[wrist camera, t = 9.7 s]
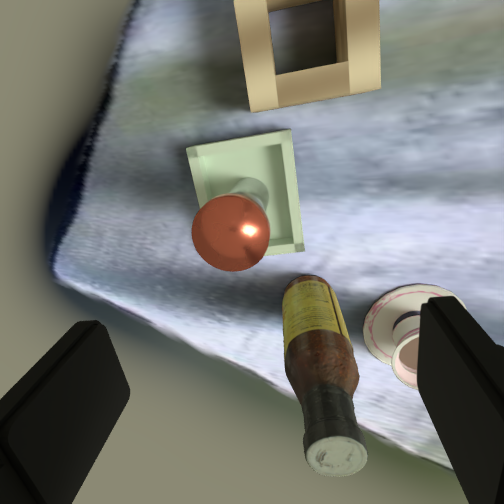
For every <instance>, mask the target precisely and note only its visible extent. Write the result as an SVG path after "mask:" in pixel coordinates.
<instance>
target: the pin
mask: <svg viewBox="0 0 504 504" xmlns="http://www.w3.org/2000/svg"><path fill="white" fill-rule="evenodd" d="M268 202H269V191H268V189H267V187H266V185H265V184H264V183H263V182H262V181H260V180H258V179H256V178H244V179H242V180H240V181H238V182H237V183H236V184H235V186H234V187H233V188H232V189H231V190H230V192H229V193H226V194H221V195H218V196H216V197H214V198H212V199H210V200H209V201H208V202H207V203H206V204H205V205H204V206H203V207H202V208H201V209H200V210H199V211H198V213H197V214H196V216H195V218H194V221H193V224H192V240H193V243H194V246H195V248H196V250H197V252H198V253H199V255H200V256H201V257H202V258H203V259H204V260H205V261H206V262H207V263H208V264H210V265H212V266H213V267H215V268H218V269H220V270H224V271H232V272H234V271H242V270H246V269H248V268H250V267H252V266H254V265H255V264H257V263H258V262H259V261H260V260H261V259H262V258H263V256H264V255H265V253H266V251H267V248H268V245H269V240H270V232H271V230H270V223H269V220H268V217H267V215H266V210H267V206H268Z"/></svg>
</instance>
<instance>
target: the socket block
mask: <svg viewBox="0 0 504 504" xmlns="http://www.w3.org/2000/svg"><path fill="white" fill-rule="evenodd" d="M316 1H321V0H234V7H235V13H236V19H237V26H238V32H239V39H240V45H241V52H242V58H243V65H244V71H245V77H246V84H247V90H248V97H249V103H250V110H251V112H262V111H268V110H273V109H278V108H284V107H289V106H295V105H300V104H306V103H311V102H317V101H322V100H328V99H333V98H339V97H344V96H349V95H355V94H360V93H365V92H369V91H373V90H377V89H381V74H380V19H379V0H333V11H334V27H335V43H336V59H337V63H336V64H331V65H326V66H321V67H316V68H311V69H306V70H301V71H296V72H291V73H285V74H280V75H276V70H275V62H274V54H273V46H272V38H271V30H270V22H269V13H268V12H273V11H277V10H281V9H286V8H290V7H294V6H299V5H303V4H308V3H312V2H316Z"/></svg>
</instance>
